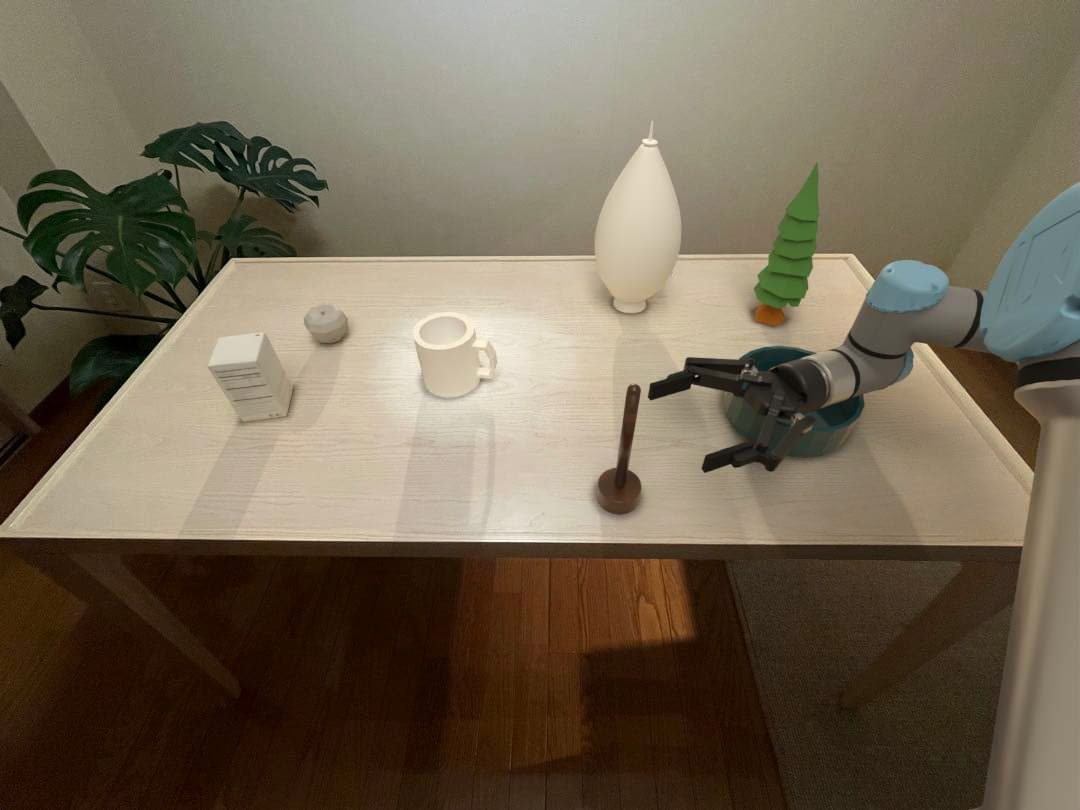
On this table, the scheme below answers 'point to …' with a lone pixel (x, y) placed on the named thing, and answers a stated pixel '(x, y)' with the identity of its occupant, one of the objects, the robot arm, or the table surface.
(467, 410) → the table surface
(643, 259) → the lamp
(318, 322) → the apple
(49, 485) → the table surface
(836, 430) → the bowl
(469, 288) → the table surface
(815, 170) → the decorative tree
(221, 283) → the table surface
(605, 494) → the wooden peg stand
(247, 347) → the white packaging box
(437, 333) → the mug
